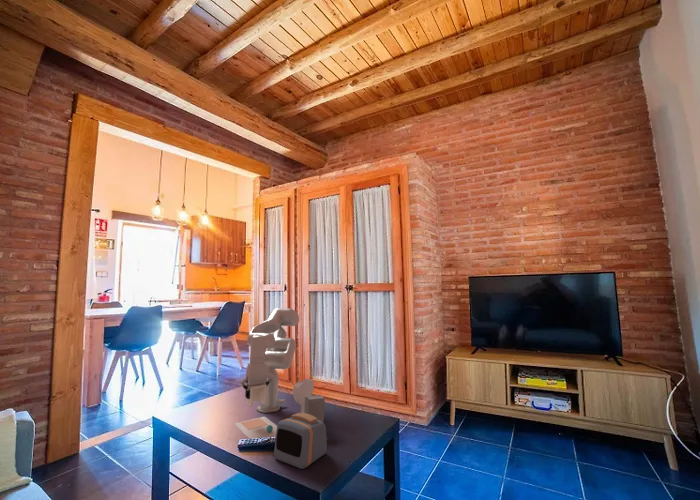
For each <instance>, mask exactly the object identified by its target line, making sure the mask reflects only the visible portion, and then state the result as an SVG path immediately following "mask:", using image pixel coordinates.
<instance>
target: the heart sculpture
mask: <svg viewBox="0 0 700 500" xmlns="http://www.w3.org/2000/svg"><path fill="white" fill-rule="evenodd" d="M314 387H315V380H314V379H311V378H303V379H302V380H299V381H297V382H296V383H295V384H294V385H293V390H292V396H293V399H294V401H295V402H296V403H298V404H299V405H300V413H304V409H305V396H311V395H313V392H314Z"/></svg>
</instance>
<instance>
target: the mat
mask: <svg viewBox="0 0 700 500" xmlns="http://www.w3.org/2000/svg"><path fill="white" fill-rule="evenodd" d="M269 425H271V426H272V427H273V430H272V431H271V432H267V430H266V428H267V426H269ZM234 426H235V427H237V429H238V430H240V431H241V432H242V433H243V434H244V435H245V436H246V438H248V439H249V440H250V438H259V437H273V436H276V431H277V424H276V423H274V422H273V421H271V420H270V419H269V418H268V417H266V416H261V417H257V418H251V419H247V420H244V421H240V422H235V423H234Z"/></svg>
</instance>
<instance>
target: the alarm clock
mask: <svg viewBox="0 0 700 500" xmlns="http://www.w3.org/2000/svg"><path fill="white" fill-rule="evenodd" d="M276 425H277V431H276V438H275V441H274V449H273V451H274V452H273V454H274V458H275V459H276V460H278V461H279V462H282V463H285V464H288V465H290V466H293V467H296V468H297V469H300V470H304V469H306V468H308V467H309V466H310V465H312V464H313V463H314V462H316V461H317V460H319V459H320V458H321V457H322V456H324V455H326V453H327V449H328V448H327V447H328V445H327V427H326V423H325V422H324V423H323V422H322V421H320V420H318V419H317V418H316V417H314V416H312V415H310V414H306V413H301V412H297V413H295V414H291V416H290V417H287V418H284V419H280V421H279V422H277V424H276Z"/></svg>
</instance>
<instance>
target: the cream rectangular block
mask: <svg viewBox="0 0 700 500" xmlns="http://www.w3.org/2000/svg"><path fill="white" fill-rule="evenodd" d="M245 385H247V383H245ZM249 390H250V399H247V398H246V397H245V396H244V398H245V402H244V404H246V405H247V406H249V408H252V407H253V403H255V402H259V403H260V402H261V403H263V404H265V401H266V385H265V384H263V383H261V384H255V385H251V387H250V389H249Z"/></svg>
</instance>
